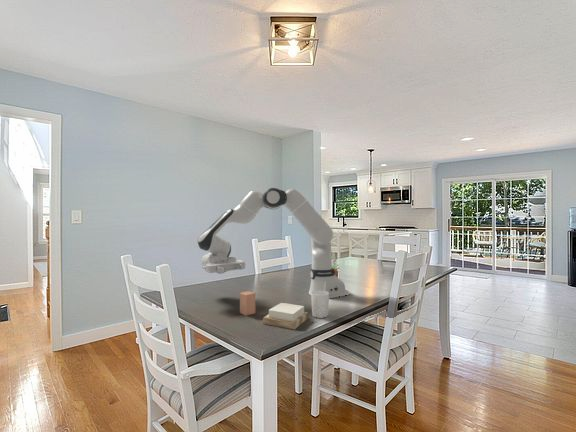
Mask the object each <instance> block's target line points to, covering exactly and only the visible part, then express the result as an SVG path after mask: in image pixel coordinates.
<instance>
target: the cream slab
mask: <svg viewBox="0 0 576 432" xmlns="http://www.w3.org/2000/svg"><path fill="white" fill-rule="evenodd" d="M304 312H305V306H304V305H299V304H293V303H285V302H280V303H278V304H277V305H275V306H273V307H272V308H269V309H268V314H269V317H270V318H275V319H281V320H286V321H292V322H293V321H295V320H296V319H297V318H299V317H300V316H301V315H303V314H304Z"/></svg>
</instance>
